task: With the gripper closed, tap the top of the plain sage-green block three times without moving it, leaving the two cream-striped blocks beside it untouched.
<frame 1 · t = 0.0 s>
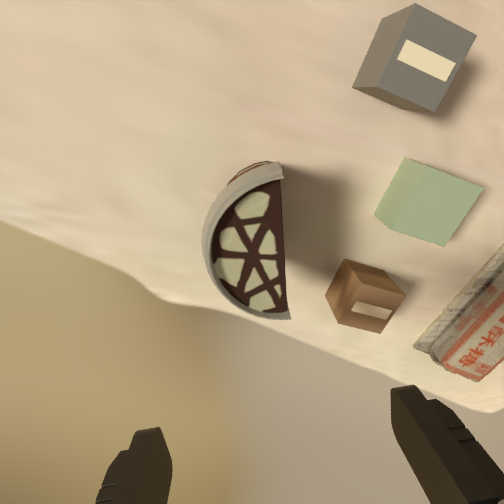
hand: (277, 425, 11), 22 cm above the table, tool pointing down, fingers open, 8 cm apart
plain sage block: (412, 195, 32), on the table
charcoal striped block: (391, 66, 26), on the table
packaged product: (484, 302, 39), on the table
walnut striped block: (353, 282, 36), on the table
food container: (239, 211, 31), on the table
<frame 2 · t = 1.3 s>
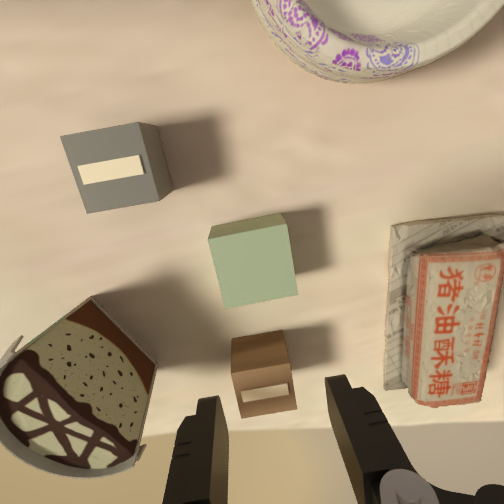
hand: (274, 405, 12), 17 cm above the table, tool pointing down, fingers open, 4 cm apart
plain sage block: (252, 251, 28), on the table
charcoal striped block: (135, 164, 25), on the table
packaged product: (431, 303, 31), on the table
walnut striped block: (260, 354, 32), on the table
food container: (102, 346, 31), on the table
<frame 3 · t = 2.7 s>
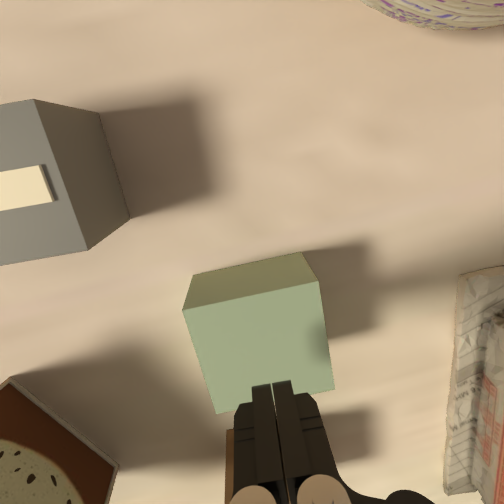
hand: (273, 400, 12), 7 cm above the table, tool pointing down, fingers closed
plain sage block: (257, 309, 18), on the table
charcoal striped block: (65, 177, 15), on the table
walnut striped block: (268, 449, 22), on the table
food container: (35, 443, 21), on the table
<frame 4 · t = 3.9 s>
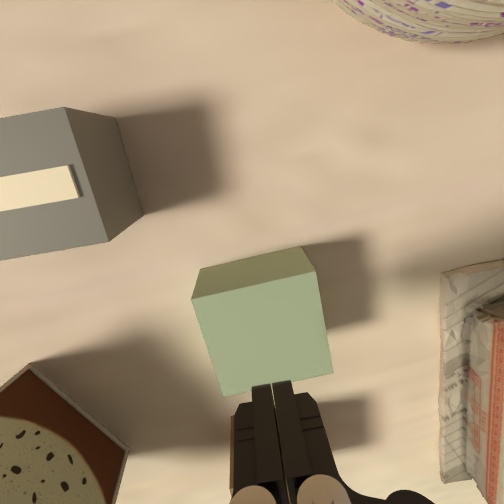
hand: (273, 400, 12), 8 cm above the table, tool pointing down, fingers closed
plain sage block: (260, 300, 19), on the table
charcoal striped block: (84, 177, 17), on the table
packaged product: (501, 367, 23), on the table
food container: (51, 427, 22), on the table
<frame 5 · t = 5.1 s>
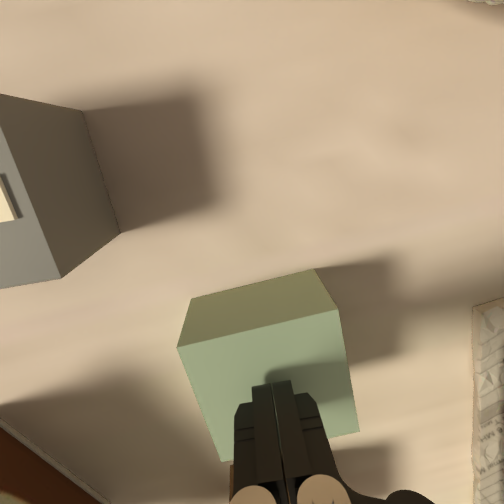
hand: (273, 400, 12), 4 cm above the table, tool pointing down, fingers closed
plain sage block: (265, 334, 16), on the table
charcoal striped block: (44, 186, 13), on the table
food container: (17, 479, 19), on the table
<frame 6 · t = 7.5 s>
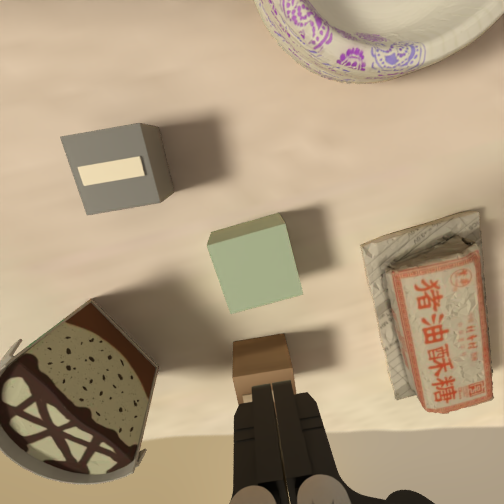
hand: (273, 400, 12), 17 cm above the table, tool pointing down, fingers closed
plain sage block: (254, 253, 28), on the table
charcoal striped block: (136, 166, 25), on the table
packaged product: (423, 308, 31), on the table
walnut striped block: (262, 358, 31), on the table
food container: (103, 349, 30), on the table
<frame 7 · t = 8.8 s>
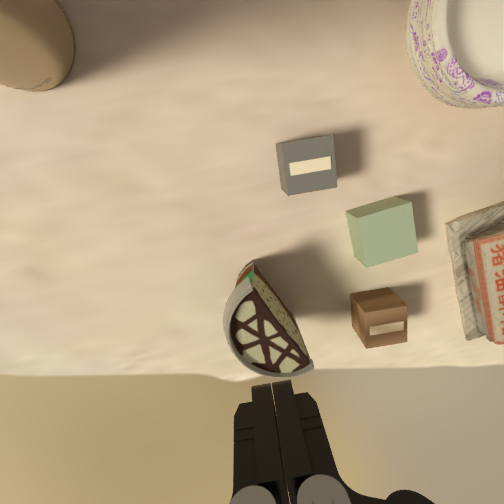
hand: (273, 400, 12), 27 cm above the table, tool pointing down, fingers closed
plain sage block: (373, 226, 38), on the table
charcoal striped block: (300, 163, 35), on the table
packaged product: (488, 269, 42), on the table
walnut striped block: (369, 306, 42), on the table
paper bowls: (462, 31, 32), on the table
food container: (253, 299, 41), on the table
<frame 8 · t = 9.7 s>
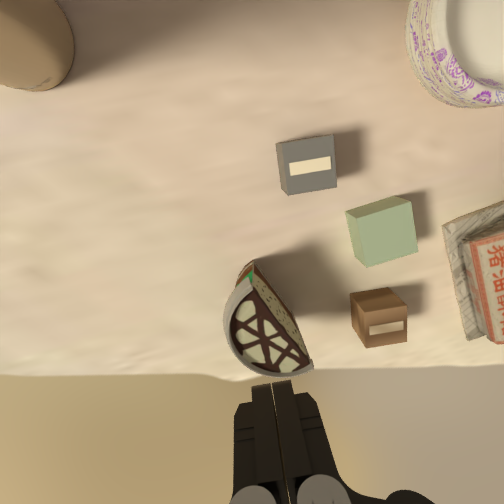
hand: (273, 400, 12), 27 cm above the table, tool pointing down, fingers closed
plain sage block: (373, 226, 38), on the table
charcoal striped block: (300, 162, 35), on the table
packaged product: (486, 269, 42), on the table
walnut striped block: (369, 306, 42), on the table
paper bowls: (462, 31, 32), on the table
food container: (253, 299, 41), on the table
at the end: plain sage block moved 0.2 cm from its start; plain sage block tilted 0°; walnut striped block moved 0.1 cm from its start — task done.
